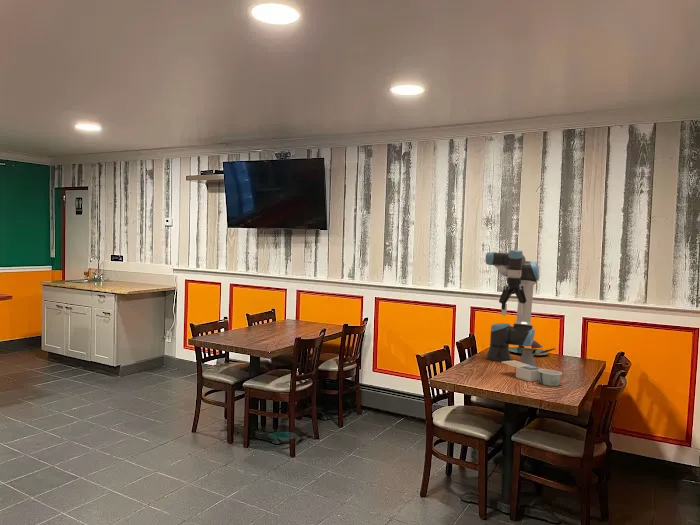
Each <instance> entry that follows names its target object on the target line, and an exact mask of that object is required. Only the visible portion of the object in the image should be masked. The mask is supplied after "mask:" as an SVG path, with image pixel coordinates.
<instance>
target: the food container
mask: <svg viewBox="0 0 700 525" xmlns="http://www.w3.org/2000/svg"><path fill="white" fill-rule="evenodd" d="M539 374H540V381H539V382H540V383H539V384H542V385H544V386H550V387H558V386H559V385H560V381H561V377H562V375H563V373H562V372H561V371H559V370H556V369H555V370H554V369H549V368H548V369H546V368H542V369H541V370H539Z"/></svg>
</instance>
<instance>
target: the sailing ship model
mask: <svg viewBox="0 0 700 525" xmlns="http://www.w3.org/2000/svg"><path fill="white" fill-rule="evenodd" d="M522 348H526V346H513V347H509V352H513V353H515V354H516V353H517V354H521V355H522V353H523V350H522ZM527 348H528V349H533V352H532V354H535V353H539V352H542V351H545V350H544V349H543V345H542V344H540V343H539V342H538V341H537V340H535V339H533V343H532V345H531V346H530V347H527ZM540 348H541V349H540ZM548 354H549V352H545V353H540V354H537V355H536V356H545V355H548Z"/></svg>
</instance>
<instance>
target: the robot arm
mask: <svg viewBox="0 0 700 525" xmlns="http://www.w3.org/2000/svg"><path fill="white" fill-rule="evenodd" d="M523 253H524V252H523V250H520V249H519V250H517V249H510V250H509V251H508V252H494V251H492V252H491V251H490V252H486V253H485V259H484V260H485V265H487V266H494V267H495V268H496V269H497V271H498V273H499V274H501V275H503V276H504V277H506V278H507V279H506V281H507V282H506V284H507V285H504V286H503V290H502V292H501V295H500V298H499V301H498V303H500V304H501V316H504V317H505V316H507V310H508V304H507V302H508V301H509V299H510V297H511V296H512V295H515V296H516V299H517V310H516V319H515V320H516V321H515V322H514V323H513V325H511V324H510V323H508V322H507V323H505V322H503V323H502V322H501V323H494V324H492V325H491V326H490V331H489V332H490V336H489V337H490V338H489V340H490V341H489V348H488V351H487V354H486V359H487V360H489V361H494V362H503V361H512V360H511V359H512V357H511V354H510V351H509V345H513V346H517V347H519V346H524V347H531V345H532V343H533V340H535V335H536V334H535V333H536V332H535V331H536V330H535V329H536V328H533V324H532V323H531V321H532V307H533V298H534V297H533V296H534V287H535V285H536V284H537V281H540V266H539V264H538V262H537V261H532V260H529V261H528V260H527V259H526V257H525V255H524V254H523ZM526 260H527V261H526Z"/></svg>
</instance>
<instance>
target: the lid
mask: <svg viewBox="0 0 700 525" xmlns="http://www.w3.org/2000/svg"><path fill="white" fill-rule="evenodd" d="M518 361H519V360H515V359H514V360H511V361H503V362H501V363H502V364H504V365H508V366H510V367H512V368H516V367H520V366H529V365H527V364H524V363H521V362H518Z"/></svg>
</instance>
